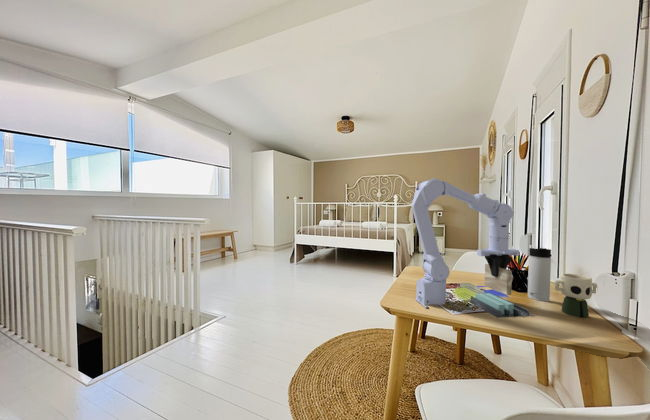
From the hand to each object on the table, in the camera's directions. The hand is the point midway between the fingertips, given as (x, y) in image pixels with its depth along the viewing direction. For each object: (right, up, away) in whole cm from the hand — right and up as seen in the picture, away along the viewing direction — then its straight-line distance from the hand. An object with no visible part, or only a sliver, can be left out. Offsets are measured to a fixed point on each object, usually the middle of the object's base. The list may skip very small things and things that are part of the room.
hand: (497, 276), depth 90 cm
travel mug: (+18, -11, +5) cm, 22 cm away
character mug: (+19, -11, -8) cm, 24 cm away
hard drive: (+6, -11, +12) cm, 17 cm away
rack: (-3, -11, -4) cm, 12 cm away
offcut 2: (-3, -10, -4) cm, 11 cm away
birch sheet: (0, -5, 0) cm, 5 cm away
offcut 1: (-6, -9, -5) cm, 12 cm away
